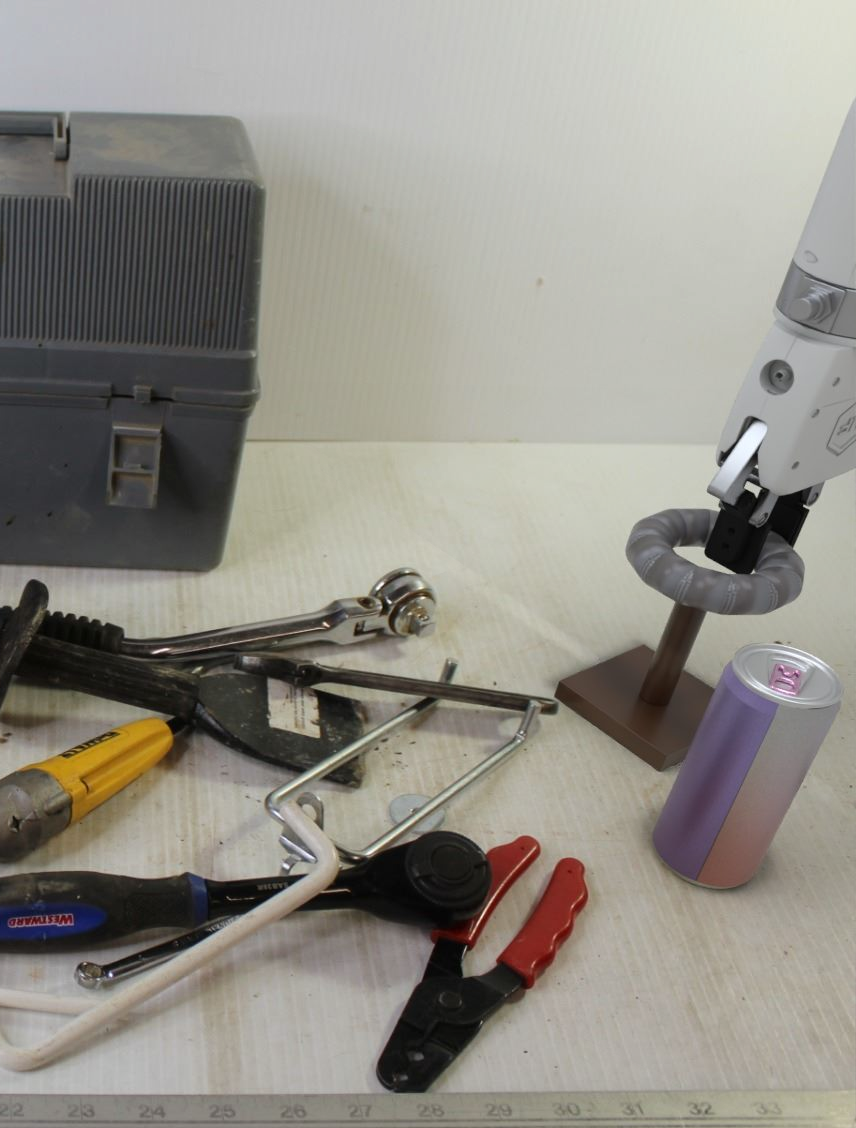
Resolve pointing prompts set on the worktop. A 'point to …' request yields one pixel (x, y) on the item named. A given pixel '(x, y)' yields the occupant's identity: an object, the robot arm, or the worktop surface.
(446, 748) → the worktop surface
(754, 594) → the ring
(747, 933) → the worktop surface
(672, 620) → the stand
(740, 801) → the beverage can
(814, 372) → the robot arm
